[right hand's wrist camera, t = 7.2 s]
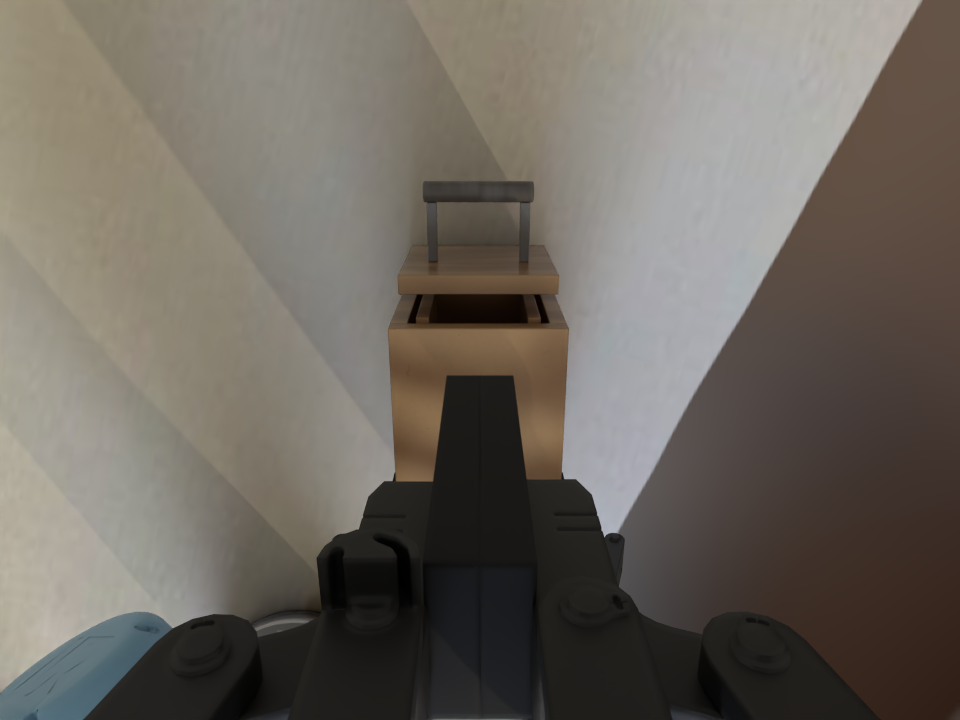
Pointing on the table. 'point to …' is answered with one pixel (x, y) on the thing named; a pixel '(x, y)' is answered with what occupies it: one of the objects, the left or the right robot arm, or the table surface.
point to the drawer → (478, 264)
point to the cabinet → (477, 351)
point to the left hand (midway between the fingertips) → (478, 488)
